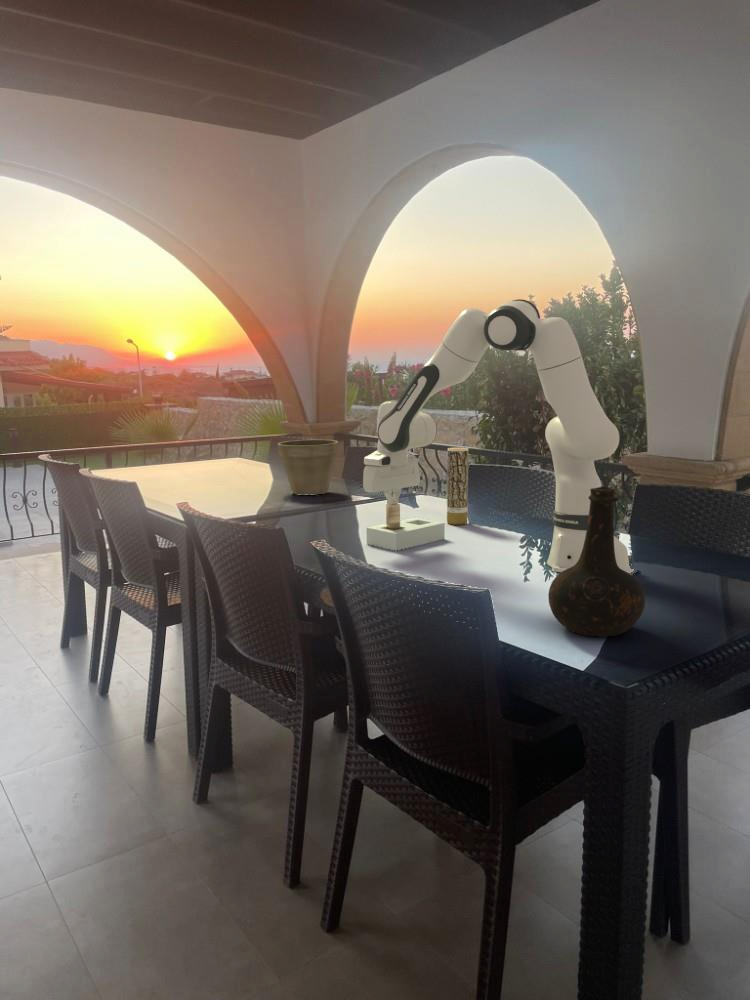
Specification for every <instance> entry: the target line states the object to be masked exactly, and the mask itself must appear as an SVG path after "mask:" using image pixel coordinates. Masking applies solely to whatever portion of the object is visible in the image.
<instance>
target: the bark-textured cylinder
mask: <svg viewBox="0 0 750 1000" xmlns="http://www.w3.org/2000/svg"><path fill="white" fill-rule="evenodd" d="M446 458H447V461H446V462H447V465H446V466H447V469H446V473H447V475H446V477H447V478H446V479H447V480H446V522H447V524H448V525H451V526H462V525H466V524H467V523H468V510H469V509H468V508H469V507H468V503H469V502H468V501H469V447H448V448H447V457H446Z"/></svg>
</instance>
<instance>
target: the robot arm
mask: <svg viewBox="0 0 750 1000" xmlns="http://www.w3.org/2000/svg"><path fill="white" fill-rule="evenodd" d="M438 345H439V346H438V347H437V349H436V350H435V351H434V353H433V355H431V357H430V358H429V360H428V361H427V362H426V363H425V364H424V365H423V366H422V367H421V368H420V369H419V370H418V371H417V373H416V374H415V376H414V377H413V378H412V380H411V381H410V382H409V385H408V386H407V387H406V389H405V390H404V392H402V393H403V394H401V396H400V397H399V399H394V400H387V401H383V402H382V403H381V404H380V405H379V408H378V411H377V420H376V425H377V426H376V428H377V430H376V432H377V437H378V442H377V446H376V447H377V448H376V449H377V450H375V451H373V452H372V453H370V454H368V455H366V456H364V459H363V464H364V465H365V466H364V469H363V472H362V473H363V474H362V475H363V477H362V478H363V479H362V485H363V490H364V491H365V492H366V493H371V494H373V493H374V494H375V493H379V492H383V495H384V496H385V498H386V504H388V505H394V504H399V498H400V495H401V493H402V489H404V488H410V487H417V486H419V485H420V483H421V476H420V475H421V473H420V466H419V462H418V461H419V460H418V458H417V456H415V454H410V455H409V449H410V450H411V449H416V448H423V447H427V446H431V444H433V443H434V441H435V439H436V438H437V432H438V427H437V422H436V421H435V419H434V418H433V417H432V415H431V414H429V413H425V412H423V411H421V410H423V409H422V408H423V407H424V406H425V405H426V403H427V401H428V400H429V399H430V398H432V396H433V395H435V394H436V393H438V392H440V391H443V390H444V389H447V388H450V387H453V386H455V385H458V384H460V383H463V382H464V381H466V380H467V379H468V378H469V377H470V376H471V374H472V373H474V371H475V370H476V368H477V366H478V365H479V363H480V361H481V359H482V357H483V356H484V354H485V352H486V351H487V349H488V348H489V346H491V347H492V348H494V349H496V350H499V351H504V352H505V351H506V352H507V351H511V352H513V351H518V352H519V351H521V352H522V351H526V350H528V351H529V352H530V353H531V355H532V358H533V360H534V361H533V362H534V365H535V369H536V371H537V375H538V379H539V381H540V384H541V388H542V390H543V394H544V398H545V400H546V402H547V403H548V404H549V405H550V407H551V408H552V410H553V411H554V412H555V414H556V416H555V417H553V418H552V419H551V420H550V421H549V422H548V423H547V425H546V427H545V434H544V435H545V440H546V443H547V445H548V446H549V449H550V452H551V458H552V463H553V468H554V470H553V471H554V477H555V503H554V505H555V509H554V510H553V517H552V528H553V533H552V534H553V535H552V540H551V541H552V543H551V546H550V552H549V555H548V558H547V561H546V564H547V566H549V567H550V568H551V569H552V571H553V572H557V573H561V572H563V571H564V570H566V569H568V568H570V567H572V566H574V565H575V564H576V563H577V562H578V560H579V558H580V555H581V552H582V549H583V545H584V541H585V536H586V531H587V525H588V517H589V509H590V500H589V498H588V497H589V496H590V495H591V491H590V489H591V488H598V487H602V481H601V479H600V477H599V475H598V473H597V469H596V467H595V466H596V465H595V461H599V460H603V459H607V458H609V457H611V455H613V454H614V453H615V452H616V450H617V449H618V447H619V445H620V432H619V430H618V428H617V427H616V425H615V423H613V422H612V421H611V420H610V419H609V418H608V416H607V415H606V413H605V411H604V409H603V407H602V405H601V404H600V401H599V400H598V399H597V396H596V394H595V392H594V390H593V388H592V386H591V383H590V381H589V376H588V374H587V373H588V372H587V370H586V366H585V363H584V360H583V356H582V352H581V350H580V347H579V343H578V341H577V338H576V336H575V334H574V332H573V330H572V328H571V326H570V324H569V322H568V321H567V320H566V319H565V318H562V317H557V316H555V317H554V316H552V317H551V316H550V317H547V318H541V314H540V311H539V310H538V307H537V306H536V305H535V304H534V303H532V302H531V301H528V300H527V299H514V300H511V301H506V302H504V303H502V304H500V305H499V306H497V307H496V308H494V309H492V310H491V311H490V312H489V313H487V312H485V311H483V310H482V309H478V308H466V309H464V310H463V311H461V313H459V315H458V316H457V317H456V319H455V320H454V321H453V323H452V324H451V326H450V327H449V329H448V330H447V331H446V333H445V335H444V337H443V338H442V339H441V342H440V344H438ZM614 550H615V558H616V562H617V565H618V567H619V568H620V569H622V570H624V571H626V572H628V573H631V572H633V571H634V569H631V568H630V566H629V564H630V561H629V560H630V559H629V553H628V548H627V546H626V545H625V544H624V543H623V542H622V541H621V540H619V538H618V537H616V536H615V535H614Z"/></svg>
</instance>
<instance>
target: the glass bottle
mask: <svg viewBox="0 0 750 1000" xmlns="http://www.w3.org/2000/svg"><path fill="white" fill-rule="evenodd" d="M590 491H591V495H590V496H589V497H588V498H589V500H590V509H589V517H588V525H587V531H586V536H585V541H584V545H583V549H582V552H581V555H580V558H579V560H578V562H577V563H576V564H575V565H574V566H572V567H570V568H568V569H566V570H564V571H563V572H559V573H558V574H557V575H556V576H555V577H554V579H553V580H552V582H551V584H550V586H549V589H548V595H547V596H548V604H549V607H550V611H551V613H552V614H553V616H554V618H555V619H556V621H557V622H558V623H559V624H560V625H561V626H562V627H564V628H565V629H567V630H568V631H571V632H572V633H576V634H579V635H582V634H583V635H584V636H587V635H588V636H587V637H594V636H596V637H597V638H607V637H608V636H610V637H616V636H618V635H619V636H620V635H622V634H623V633H625V632H627V631H628V630H630V628H633V626H634V625H635V624H636V623H637V622H638V621H639V619H640V618H641V616H642V614H643V612H644V609H645V606H646V594H645V591H644V589H643V586H642V585H641V583H640V581H638V579H637V578H636V577H635V576H634V575H631V574H629V573H628V572H626V571H624V570H622V569H620V568H619V567H618V565H617V562H616V558H615V550H614V536H615V535H614V533H615V532H614V527H615V526H614V524H615V523H614V522H615V521H614V517H615V515H614V513H615V512H614V511H615V508H614V507H615V502H618V501H620V498H619V497H617V496H615V493H616V489H615V488H612V487H608V486H607V487H606V486H601V487H598V488H591V489H590Z"/></svg>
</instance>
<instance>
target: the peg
mask: <svg viewBox="0 0 750 1000" xmlns="http://www.w3.org/2000/svg"><path fill="white" fill-rule="evenodd" d="M385 509H386V510H385V516H386V517H385V519H386V520H385V521H386V523H385V524H386V529H387V530H392V531H395V530H399V529H400V520H401V504H400V503H398V504H394V505H388V504H387V503H386V505H385Z"/></svg>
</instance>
